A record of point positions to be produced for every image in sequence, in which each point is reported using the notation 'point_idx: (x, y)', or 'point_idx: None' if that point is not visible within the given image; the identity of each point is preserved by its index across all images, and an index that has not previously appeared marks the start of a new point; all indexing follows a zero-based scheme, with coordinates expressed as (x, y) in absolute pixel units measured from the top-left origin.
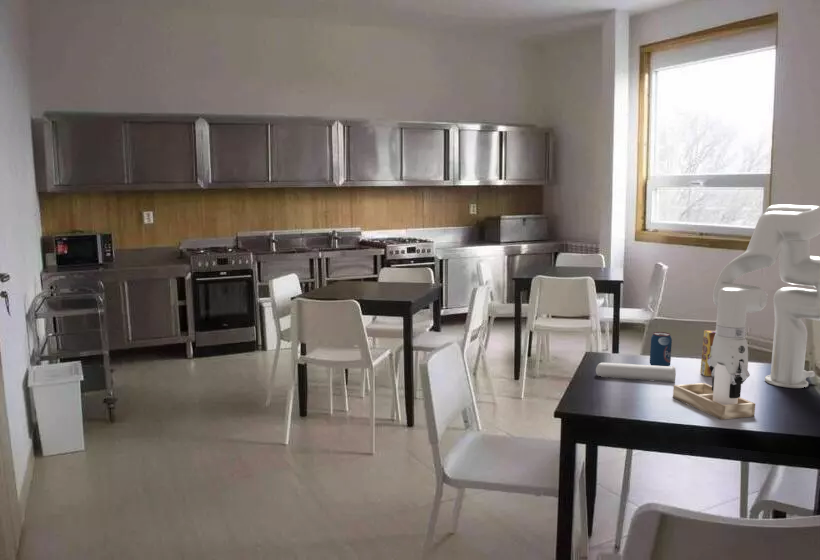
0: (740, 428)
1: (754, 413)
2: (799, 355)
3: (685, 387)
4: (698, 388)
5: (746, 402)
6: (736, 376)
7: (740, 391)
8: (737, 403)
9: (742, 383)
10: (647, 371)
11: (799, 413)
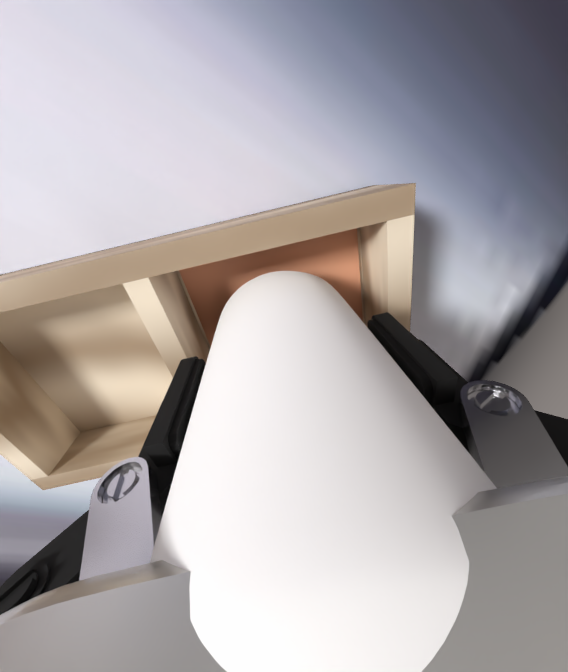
0: (481, 342)
1: (381, 185)
2: None
3: (27, 437)
4: None
5: (351, 227)
6: None
7: (409, 332)
8: (327, 283)
9: (505, 390)
10: None
11: None
